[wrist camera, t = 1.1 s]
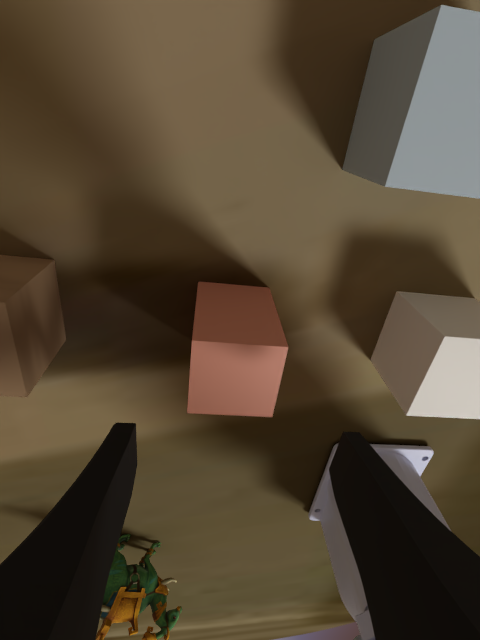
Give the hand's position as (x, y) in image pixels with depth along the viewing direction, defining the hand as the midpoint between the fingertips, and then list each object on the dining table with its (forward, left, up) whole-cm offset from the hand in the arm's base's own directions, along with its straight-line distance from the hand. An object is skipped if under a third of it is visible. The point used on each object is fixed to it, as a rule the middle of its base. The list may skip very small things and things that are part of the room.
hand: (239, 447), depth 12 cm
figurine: (-24, +7, -10) cm, 27 cm away
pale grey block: (0, -12, -10) cm, 15 cm away
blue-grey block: (+11, -7, -10) cm, 16 cm away
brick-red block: (0, 0, -10) cm, 10 cm away
